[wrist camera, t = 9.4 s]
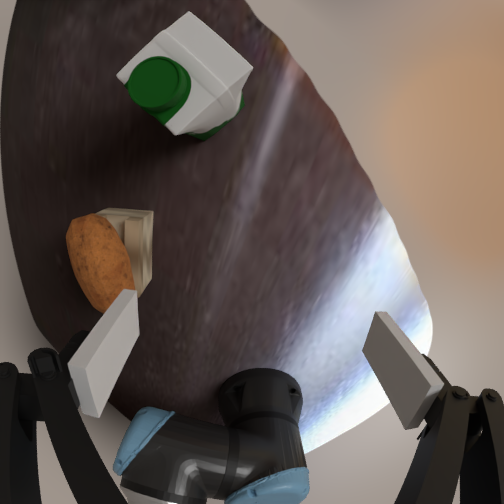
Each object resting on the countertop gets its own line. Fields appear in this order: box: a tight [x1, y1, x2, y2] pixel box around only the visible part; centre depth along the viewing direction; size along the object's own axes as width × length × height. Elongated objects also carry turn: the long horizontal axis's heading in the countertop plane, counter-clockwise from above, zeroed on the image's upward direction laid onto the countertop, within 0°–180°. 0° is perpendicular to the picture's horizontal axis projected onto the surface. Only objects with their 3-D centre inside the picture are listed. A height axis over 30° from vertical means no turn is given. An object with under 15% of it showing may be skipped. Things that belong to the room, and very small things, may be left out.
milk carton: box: [117, 12, 253, 141], centre depth 27 cm, size 9×9×20 cm
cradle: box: [96, 208, 153, 298], centre depth 38 cm, size 10×7×6 cm
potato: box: [66, 213, 135, 314], centre depth 32 cm, size 7×13×7 cm, turn 8°
